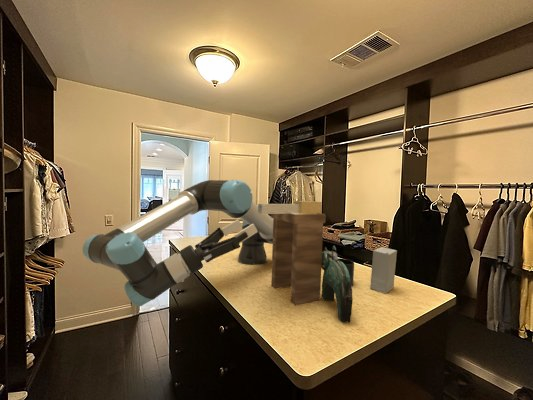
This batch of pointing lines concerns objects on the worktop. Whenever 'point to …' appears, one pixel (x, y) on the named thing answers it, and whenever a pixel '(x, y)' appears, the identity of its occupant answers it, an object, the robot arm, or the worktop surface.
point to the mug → (349, 268)
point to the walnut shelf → (298, 255)
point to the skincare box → (383, 269)
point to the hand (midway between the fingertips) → (247, 224)
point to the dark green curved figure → (337, 284)
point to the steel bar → (291, 208)
